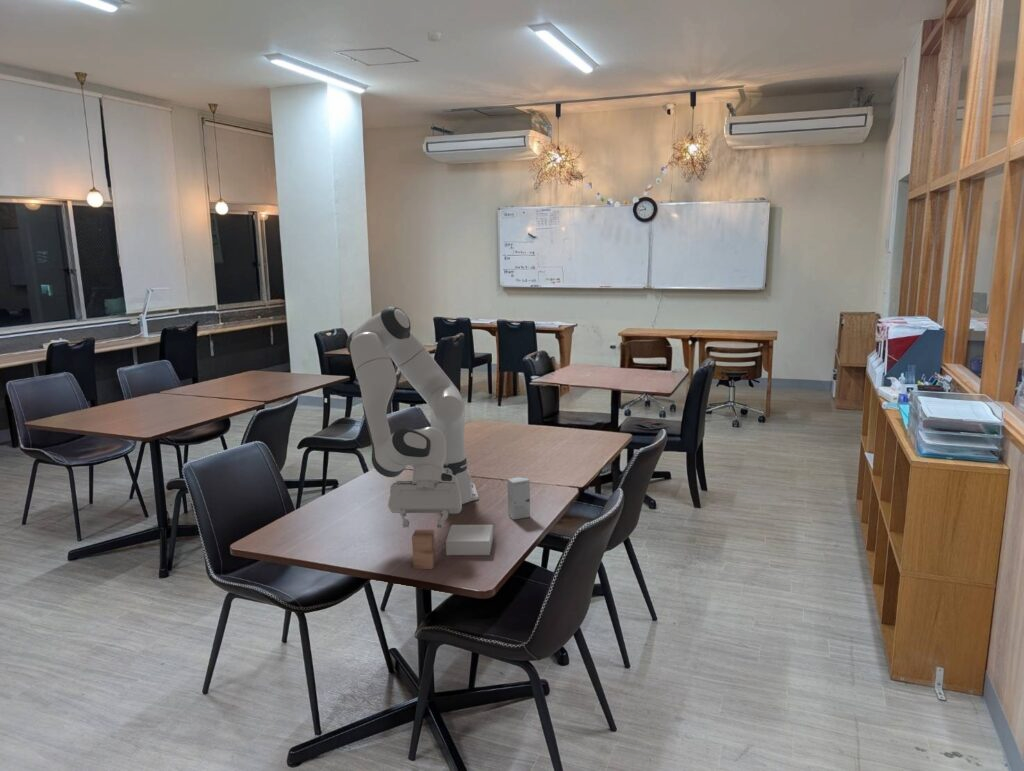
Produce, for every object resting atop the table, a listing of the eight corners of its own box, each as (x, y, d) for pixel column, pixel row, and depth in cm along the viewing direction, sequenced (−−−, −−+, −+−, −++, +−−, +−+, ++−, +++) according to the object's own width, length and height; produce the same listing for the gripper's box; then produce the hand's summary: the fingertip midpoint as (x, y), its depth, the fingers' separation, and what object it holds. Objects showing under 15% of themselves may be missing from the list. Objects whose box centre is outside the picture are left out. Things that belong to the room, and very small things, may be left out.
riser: (452, 537, 204) (451, 524, 203) (493, 537, 204) (492, 524, 203) (446, 555, 192) (445, 541, 192) (489, 554, 192) (489, 541, 191)
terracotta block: (417, 560, 189) (415, 529, 188) (435, 560, 189) (433, 529, 187) (413, 569, 184) (411, 536, 183) (432, 568, 184) (430, 536, 183)
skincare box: (513, 520, 217) (512, 482, 214) (507, 515, 221) (506, 478, 218) (531, 516, 219) (530, 479, 217) (525, 512, 223) (524, 476, 221)
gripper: (389, 475, 195) (382, 522, 187) (461, 476, 194) (458, 522, 186) (393, 486, 200) (387, 531, 193) (464, 486, 199) (460, 531, 191)
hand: (422, 526), depth 189 cm, fingers open, 8 cm apart
